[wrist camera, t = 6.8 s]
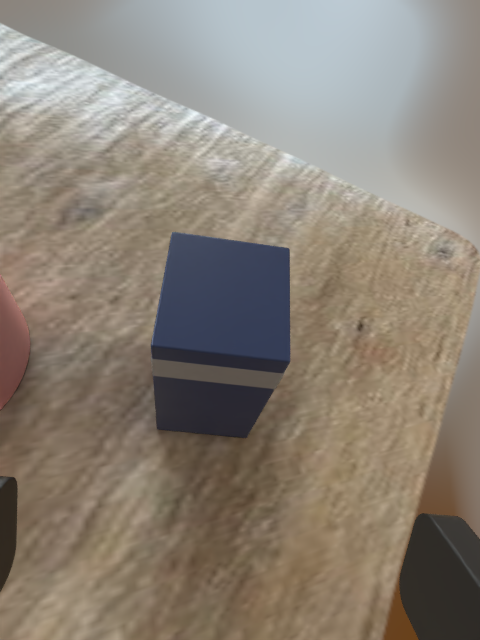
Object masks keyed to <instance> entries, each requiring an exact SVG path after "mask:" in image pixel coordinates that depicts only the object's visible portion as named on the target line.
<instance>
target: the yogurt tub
mask: <svg viewBox="0 0 480 640" xmlns="http://www.w3.org/2000/svg"><path fill="white" fill-rule="evenodd" d="M29 353H30V336H29V329H28V326H27V323H26V320H25V318H24V316H23V314H22V312H21V310H20V309H19V307H18V305H17V303H16V301H15V299H14V298H13V296H12V294H11V292H10V290H9V289H8V287H7V285H6V283H5V281H4V280H3V278H2V276H1V274H0V410H1V409H2V408H3V407H4V405H5V404H6V403H7V402H8V401H9V399H10V398H11V397H12V395H13V393H14V392H15V390H16V389H17V387H18V386H19V383H20V381H21V379H22V377H23V375H24V373H25V369H26V366H27V363H28V359H29Z"/></svg>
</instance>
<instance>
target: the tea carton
mask: <svg viewBox="0 0 480 640" xmlns="http://www.w3.org/2000/svg"><path fill="white" fill-rule="evenodd" d="M151 353H152V356H151V363H152V375H153V381H154V395H155V409H156V423H157V429H159V430H170V431H180V432H190V433H200V434H211V435H221V436H231V437H241V438H247V436H248V434H249V432H250V431H251V429H252V427H253V426H254V424H255V422H256V420H257V419H258V417H259V415H260V413H261V412H262V410H263V408H264V406H265V405H266V403H267V401H268V399H269V398H270V396H271V394H272V393H273V391H274V389H276V387H277V385H278V384H279V382H280V380H281V379H282V377H283V375H284V372H285V370H286V368H287V367H288V365H289V363H290V250H289V248H284V247H277V246H270V245H263V244H256V243H248V242H241V241H234V240H227V239H220V238H213V237H206V236H199V235H192V234H185V233H178V232H172V235H171V240H170V246H169V251H168V256H167V262H166V267H165V272H164V278H163V283H162V288H161V294H160V299H159V305H158V310H157V315H156V321H155V326H154V331H153V337H152V342H151Z"/></svg>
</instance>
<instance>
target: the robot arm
mask: <svg viewBox="0 0 480 640" xmlns="http://www.w3.org/2000/svg"><path fill="white" fill-rule="evenodd" d="M17 490H18V489H17V481H16V479H15V478H14V477H4V476H0V591H1V590H2V588H3V586H4V584H5V582H6V580H7V578H8V575H9V573H10V570H11V567H12V564H13V560H14V556H15V550H16V531H17ZM399 585H400V595H401V600H402V604H403V607H404V609H405V611H406V614H407V616H408V618H409V620H410V622H411V624H412V626H413V628H414V630H415V632H416V635H417V637H418V639H419V640H480V539H479V538H478V537H477V535H476V534H475V533H474V532H473V530H472V529H471V528H470V527H469V525H468V524H467V523H466V522H465V521H464V520H463V519H462V518H460V517H458V516H448V515H436V514H424V513H423V514H420V515H419V516H418V517H417V518H416V520H415V523H414V526H413V530H412V534H411V537H410V541H409V544H408V548H407V552H406V555H405V559H404V562H403V566H402V569H401V573H400V584H399Z"/></svg>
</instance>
